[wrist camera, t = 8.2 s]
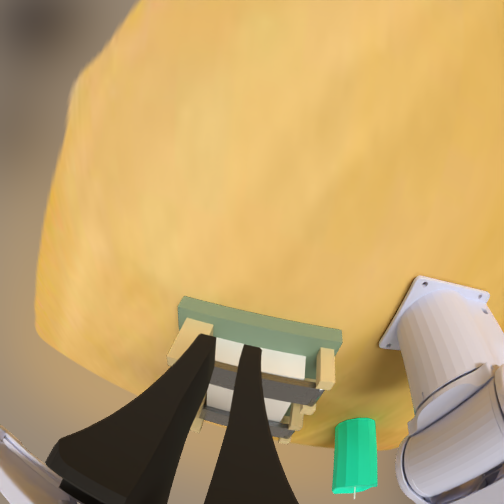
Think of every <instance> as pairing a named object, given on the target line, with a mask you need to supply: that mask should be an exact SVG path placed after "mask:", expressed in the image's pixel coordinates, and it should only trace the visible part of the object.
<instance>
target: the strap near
mask: <svg viewBox="0 0 504 504" xmlns="http://www.w3.org/2000/svg"><path fill="white" fill-rule="evenodd" d="M237 369H238V366H234V365H230V364H226V363H223V362H219V361H215V366H214V370H213V373H212V377H211V380H210V383H209V384H212V385H216V386H219V387H223V388H227V389H230V390H234V385H235V380H236V375H237ZM261 374H262V387H263V394H264V398H269V399H274V400H279V401H284V402H290V403H296V404H302V405H308V406H310V407H312V406H314V405H315V403H316V402H317V401H318V399H319V398H320V396H321V395H322V393H323V392H324V390H323V389H316V383H315V382H309V381H303V380H298V379H292V378H287V377H282V376H277V375H272V374H268V373H263V372H261Z"/></svg>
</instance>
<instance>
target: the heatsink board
mask: <svg viewBox="0 0 504 504" xmlns="http://www.w3.org/2000/svg"><path fill="white" fill-rule="evenodd" d="M178 321H179V333H178V335H177V337H176V339H175V341H174V343H173V345H172V347H171V349H170V351H169V352H168V354H167V362H168V365H169V366H172V365H173V364H174V363H175V362H176V361H177V360H178V359H179V358H180V357H181V356H182V355H183V353H184V352H185V351H186V350H187V349H188V348H189V346H190V345H191V344H192V343H193V341H194V340H195V339H196V337H197V336H198V335H199V334H201V333H202V334H206V335H210V336H214V337H217V338H216V351H215V361H219V362H223V363H226V364H230V365H234V366H238V364H239V359H240V356H241V352H242V349H243V346H244V344H246V345H251V346H255V347H260V348H261V349H262V355H261V372H263V373H268V374H272V375H277V376H282V377H287V378H292V379H298V380H303V381H309V382H315V383H316V389H323V390H330V389H331V388H332V387H333V385H334V384H335V359H334V357H335V355H336V353H337V352H338V350H339V348H340V346H341V344H342V343H343V342H342V331H341V330H339V329H333V328H327V327H321V326H316V325H310V324H305V323H300V322H295V321H290V320H285V319H280V318H275V317H270V316H266V315H261V314H256V313H252V312H247V311H243V310H239V309H234V308H230V307H226V306H222V305H218V304H214V303H210V302H206V301H202V300H198V299H194V298H190V297H186V296H184V297H183V299H182V300H181V302H180V304H179V305H178ZM233 391H234V390H230V389H227V388H223V387H219V386H216V385H212V384H209V386H208V389H207V392H206V394H205V396H204V399H203V401H202V403H201V406H200V408H199V410H198V412H197V415H196V417H195V419H194V421H193V424H192V426H191V428H190V431H193V432H197V433H200V430H201V428H202V424H203V422H204V419H200V418H199V417H200V414H201V411H202V408H203V405H207V406H210V407H214V408H218V409H221V410H225V411H229V412H230V408H231V402H232V396H233ZM264 401H265V407H266V413H267V417H268V421H273V422H279V423H280V422H281V423H284V424H289V427H288V430H296V431H300V429H301V428H302V427H303V416H304V414H306V415H312V414H313V413H314V411H315V410H316V403H315V405H314V406H312V407H310V406H308V405H302V404H296V403H290V402H284V401H279V400H274V399H269V398H264ZM290 441H291V437H290V438H289V439H284V438H280V437H279V441H278V443H282V444H289V443H290Z"/></svg>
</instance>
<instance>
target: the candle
mask: <svg viewBox="0 0 504 504" xmlns="http://www.w3.org/2000/svg"><path fill="white" fill-rule="evenodd" d="M371 487H377V443H376V426H375V421H374V420H372V419H370V418H355V419H350V420H346V421H344V422H341V423H339V424H338V425H337V426H336V428H335V451H334V470H333V484H332V491H333V493H334V494H338V493H354V499H355V493H356V492H361V491H365V490H366V489H369V488H371Z"/></svg>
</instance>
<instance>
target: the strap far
mask: <svg viewBox="0 0 504 504" xmlns="http://www.w3.org/2000/svg"><path fill="white" fill-rule="evenodd" d="M229 414H230V412H229V411H225V410H221V409H218V408H214V407H210V406H207V405H203V408H202V411H201V414H200V417H199V418H200V419H204V420H207V421H210V422H214V423H217V424H221V425H225V426H228V421H229ZM268 422H269V426H270V430H271V434H272V436H274V437H280V438H284V439H289V438H290V437H291V435H292V434H293V433H294V432H295V430H288V427H289V424H284V423H279V422H273V421H268Z"/></svg>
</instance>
